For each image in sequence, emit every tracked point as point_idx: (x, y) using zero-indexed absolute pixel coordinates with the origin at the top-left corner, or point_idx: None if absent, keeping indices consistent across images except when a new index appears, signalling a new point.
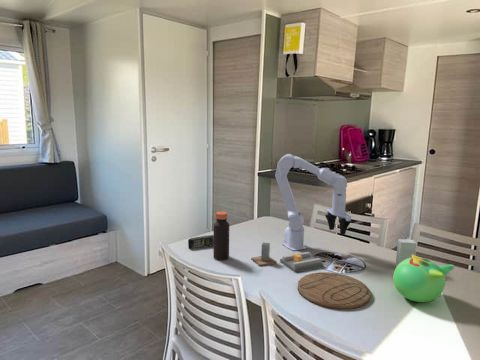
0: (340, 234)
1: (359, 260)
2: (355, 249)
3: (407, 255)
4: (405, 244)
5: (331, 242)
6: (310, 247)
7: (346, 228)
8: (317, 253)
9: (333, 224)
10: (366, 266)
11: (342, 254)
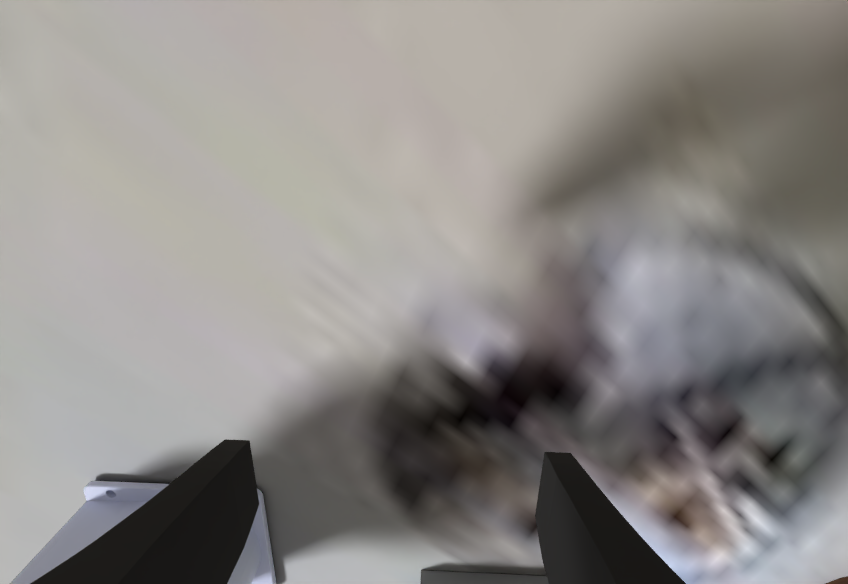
0: (537, 519)
1: (709, 263)
2: (454, 50)
3: None
4: None
5: (150, 168)
6: None
7: (648, 563)
8: (383, 474)
9: (191, 539)
10: (842, 308)
11: (502, 306)
